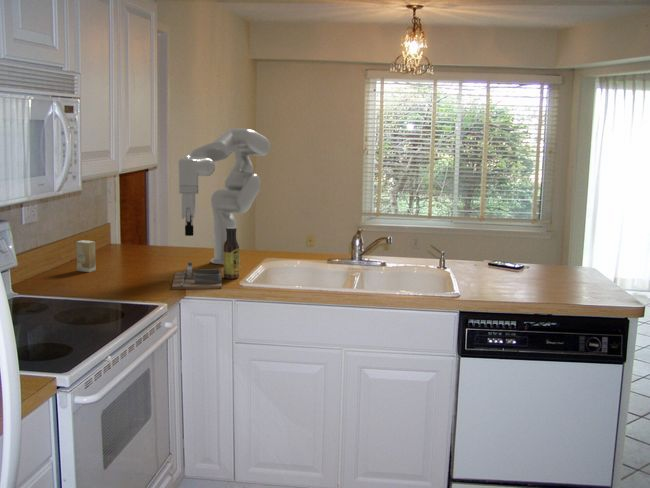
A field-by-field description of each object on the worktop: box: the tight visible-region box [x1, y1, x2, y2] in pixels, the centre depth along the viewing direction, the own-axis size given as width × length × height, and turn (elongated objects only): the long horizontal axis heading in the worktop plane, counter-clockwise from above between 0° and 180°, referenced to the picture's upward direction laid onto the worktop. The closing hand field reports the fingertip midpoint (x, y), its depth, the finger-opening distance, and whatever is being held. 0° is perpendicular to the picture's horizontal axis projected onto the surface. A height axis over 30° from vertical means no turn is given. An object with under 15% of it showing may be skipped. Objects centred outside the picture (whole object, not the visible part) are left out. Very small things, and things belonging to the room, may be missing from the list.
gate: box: [186, 261, 193, 278], centre depth 267 cm, size 10×2×4 cm, turn 9°
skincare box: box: [75, 239, 97, 273], centre depth 276 cm, size 6×4×12 cm
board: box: [171, 268, 223, 290], centre depth 262 cm, size 24×18×4 cm
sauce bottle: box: [222, 227, 240, 280], centre depth 267 cm, size 7×6×20 cm
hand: (189, 235), depth 274 cm, fingers closed
